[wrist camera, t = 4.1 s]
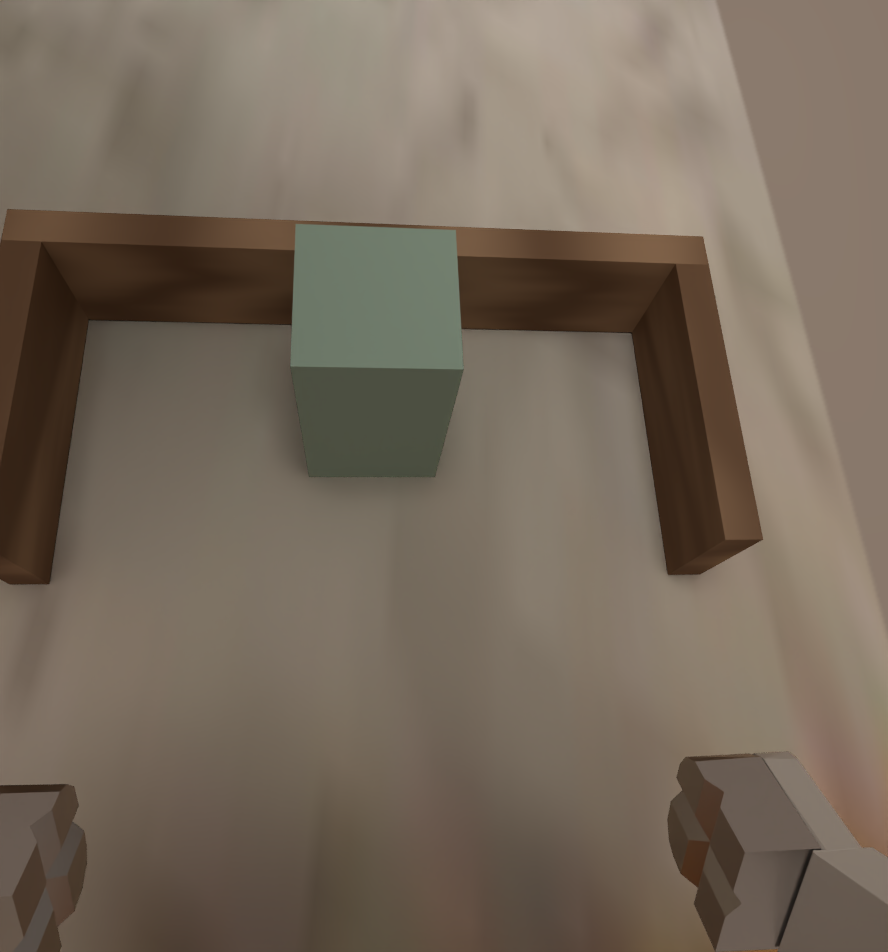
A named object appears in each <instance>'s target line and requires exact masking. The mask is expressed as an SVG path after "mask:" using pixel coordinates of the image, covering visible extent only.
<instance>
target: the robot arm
mask: <svg viewBox="0 0 888 952" xmlns="http://www.w3.org/2000/svg"><path fill="white" fill-rule="evenodd" d="M676 778H677V780H678V782H679V784H680V786H681V788H682V791H681V792H680V793H679V794H678V795H677V796H676V797H675V798H674V799H673V800H672V801H671V803H670V808H669V814H668V819H667V821H668V834H669V842H670V846H671V850H672V853H673V857H674V859H675V862H676V864H677V866H678V869H679V871H680V873H681V874H682V875H683V876H684V877H685V878H687V879H688V880H689V881H690V882H692V883H693V884H694V885H695V886H696V887H698V890H697V894H696V898H695V901H694V905H695V908H696V910H697V912H698V914H699V916H700V919H701V921H702V923H703V925H704V928H705V930H706V932H707V934H708V937H709V939H710V941H711V943H712V945H713V948H714V950H715V952H720V951H743V950H766V949H778V952H888V857H886V856H885V855H883V854H882V853H880V852H879V851H877V850H875V849H874V848H862V847H861V846H860V845H859V843H858V842H857V840H856V839H855V838H854V836H853V835H852V833H851V832H850V831H849V829H848V828H847V827H846V825H845V824H844V822H843V821H842V820H841V818H840V817H839V815H838V814H837V813H836V811H835V810H834V809H833V807H832V806H831V804H830V803H829V802H828V800H827V799H826V797H825V796H824V795H823V793H822V792H821V790H820V789H819V788H818V786H817V785H816V784H815V782H814V781H813V779H812V778H811V777H810V775H809V774H808V772H807V771H806V770H805V768H804V767H803V765H802V764H801V763H800V761H799V760H798V759H797V757H796V756H794V755H793V754H791V753H790V752H788V751H787V752H768V753H754V754H749V753H748V754H730V755H711V756H693V757H685V758H684V759H683V761H682V762H681V763H680V765H679V769H678V773H677V777H676ZM78 807H79V803H78V799H77V796H76V792H75V788H74V786H71V785H68V784H54V785H0V952H60V949H61V947H62V945H61V941H60V936H59V932H58V928H57V927H58V926H59V925H60V924H61V923H62V922H63V921H64V920H65V919H66V918H68V917H69V916H70V915H71V914H72V913H73V912H74V911H75V908H76V905H77V903H78V900H79V897H80V894H81V891H82V888H83V882H84V876H85V871H86V865H87V844H86V838H85V833H84V830H82V829H81V828H80V827H79V826H77V825H76V824H75V823H74V822H72V821H73V819H74V816H75V814H76V812H77V809H78Z"/></svg>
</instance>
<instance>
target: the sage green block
mask: <svg viewBox="0 0 888 952" xmlns="http://www.w3.org/2000/svg"><path fill="white" fill-rule="evenodd" d="M290 367H291V373H292V379H293V385H294V391H295V397H296V403H297V409H298V414H299V420H300V426H301V432H302V438H303V444H304V450H305V456H306V462H307V468H308V473H309V477H435V474H436V470H437V466H438V463H439V459H440V455H441V452H442V448H443V444H444V440H445V437H446V433H447V429H448V426H449V422H450V418H451V414H452V411H453V407H454V403H455V399H456V396H457V392H458V388H459V385H460V381H461V377H462V373H463V370H464V368H463V350H462V332H461V314H460V296H459V278H458V260H457V242H456V230H441V229H415V228H389V227H363V226H337V225H311V224H296V228H295V255H294V282H293V309H292V336H291V363H290Z"/></svg>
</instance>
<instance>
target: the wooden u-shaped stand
mask: <svg viewBox="0 0 888 952" xmlns="http://www.w3.org/2000/svg"><path fill="white" fill-rule="evenodd" d="M296 224H311V225H337V226H363V227H389V228H415V229H441V230H456V242H457V260H458V278H459V296H460V314H461V328H465V329H507V330H549V331H591V332H632V336H633V343H634V350H635V356H636V363H637V370H638V376H639V383H640V390H641V397H642V403H643V410H644V417H645V423H646V430H647V437H648V443H649V450H650V457H651V464H652V470H653V477H654V484H655V490H656V497H657V504H658V511H659V517H660V524H661V531H662V537H663V544H664V551H665V558H666V564H667V571H668V575H681V574H701V573H703V572H705V571H707V570H709V569H710V568H712V567H714V566H716V565H718V564H719V563H721V562H723V561H725V560H727V559H728V558H730V557H732V556H734V555H736V554H738V553H739V552H741V551H743V550H745V549H747V548H748V547H750V546H752V545H754V544H756V543H757V542H759V541H761V540H763V537H762V532H761V527H760V522H759V516H758V511H757V506H756V501H755V496H754V491H753V486H752V481H751V476H750V471H749V466H748V461H747V456H746V451H745V446H744V441H743V436H742V431H741V426H740V421H739V416H738V411H737V406H736V400H735V395H734V390H733V385H732V380H731V375H730V370H729V365H728V360H727V355H726V350H725V345H724V340H723V335H722V330H721V325H720V320H719V315H718V310H717V305H716V300H715V295H714V290H713V284H712V279H711V274H710V269H709V264H708V259H707V254H706V249H705V244H704V239H703V237H699V236H674V235H649V234H623V233H598V232H573V231H547V230H522V229H497V228H471V227H446V226H421V225H395V224H370V223H345V222H319V221H294V220H269V219H243V218H218V217H193V216H167V215H142V214H117V213H91V212H66V211H41V210H15V209H7V214H6V219H5V224H4V229H3V233H2V238H1V243H0V579H1V580H3V581H4V582H6V583H8V584H49V582H50V575H51V568H52V561H53V555H54V548H55V541H56V535H57V528H58V521H59V515H60V508H61V501H62V494H63V488H64V481H65V474H66V468H67V461H68V454H69V448H70V441H71V434H72V427H73V421H74V414H75V407H76V401H77V394H78V387H79V381H80V374H81V367H82V360H83V354H84V347H85V340H86V334H87V327H88V320H129V321H171V322H213V323H255V324H292V309H293V282H294V255H295V228H296Z"/></svg>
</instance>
